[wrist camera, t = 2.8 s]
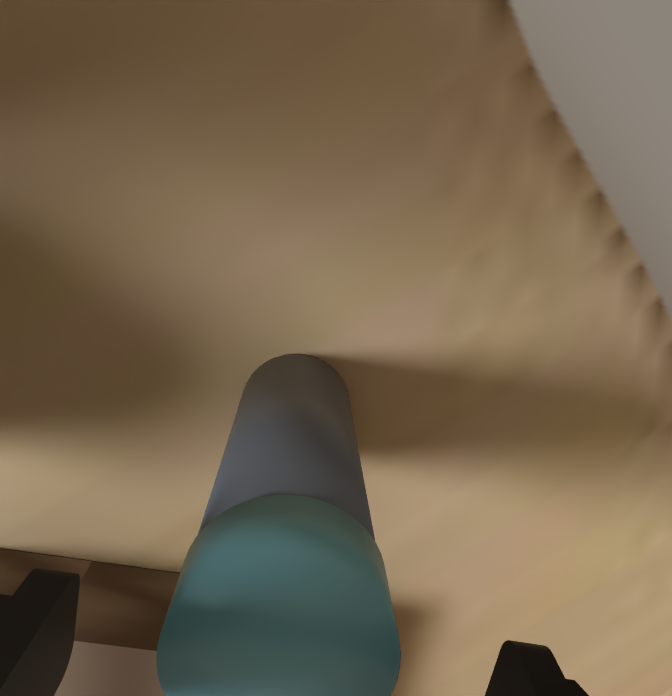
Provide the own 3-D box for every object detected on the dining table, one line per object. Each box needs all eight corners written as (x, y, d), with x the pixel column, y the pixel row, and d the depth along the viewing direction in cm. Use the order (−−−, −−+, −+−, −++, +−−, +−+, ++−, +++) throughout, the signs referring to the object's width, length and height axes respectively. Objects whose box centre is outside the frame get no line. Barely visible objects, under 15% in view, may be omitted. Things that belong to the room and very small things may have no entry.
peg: (231, 446, 22) (143, 742, 10) (248, 341, 21) (171, 541, 9) (339, 463, 22) (372, 768, 11) (362, 362, 21) (425, 578, 10)
